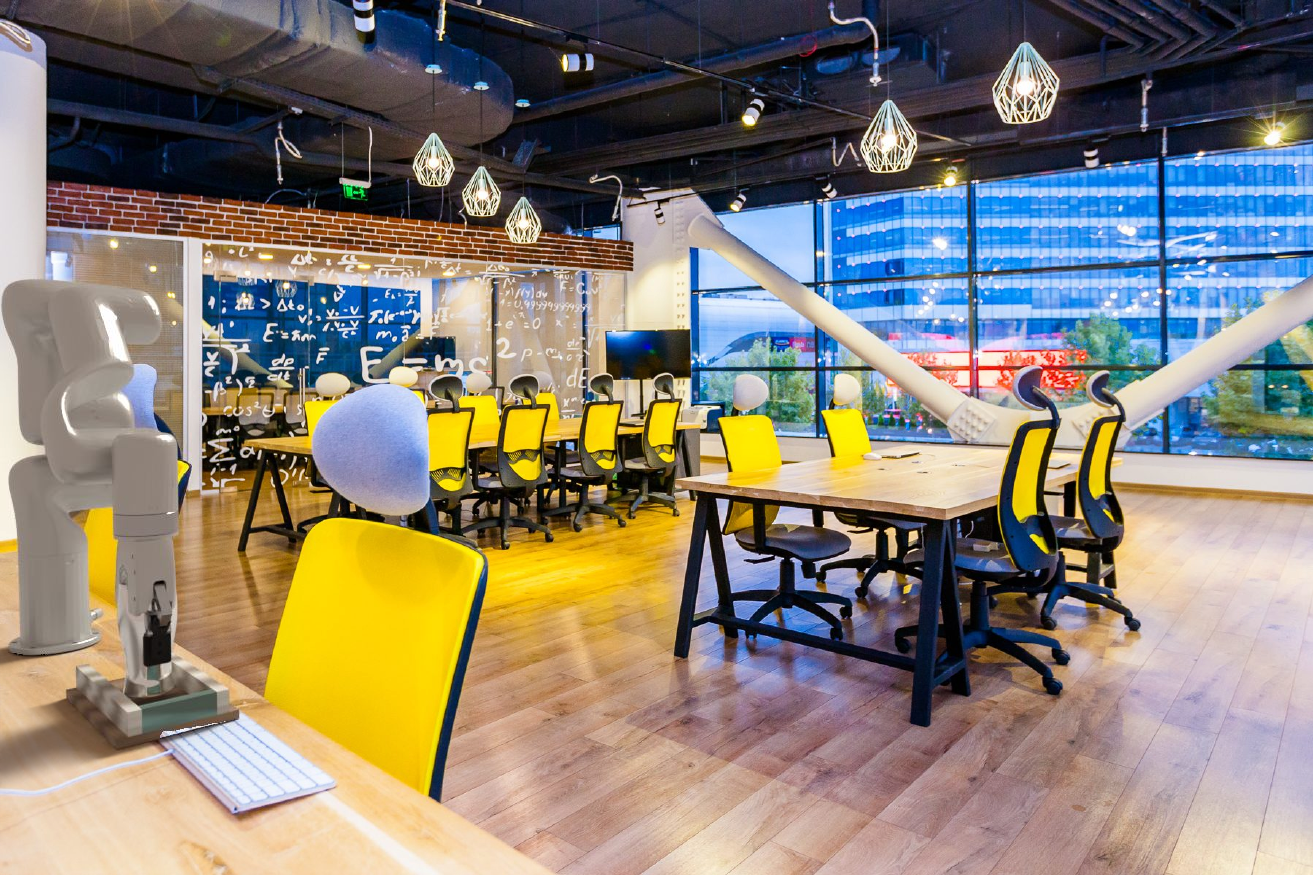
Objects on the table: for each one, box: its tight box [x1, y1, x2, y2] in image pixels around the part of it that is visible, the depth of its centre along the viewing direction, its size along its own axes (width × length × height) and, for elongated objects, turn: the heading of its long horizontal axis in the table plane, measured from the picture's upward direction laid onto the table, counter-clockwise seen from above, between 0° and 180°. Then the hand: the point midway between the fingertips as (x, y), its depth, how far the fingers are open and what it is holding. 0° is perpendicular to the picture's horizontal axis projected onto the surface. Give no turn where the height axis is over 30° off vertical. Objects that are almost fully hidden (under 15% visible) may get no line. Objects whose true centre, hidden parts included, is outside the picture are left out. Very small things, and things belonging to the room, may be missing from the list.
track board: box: [65, 651, 240, 751], centre depth 116 cm, size 24×14×4 cm, turn 46°
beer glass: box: [116, 582, 178, 698], centre depth 116 cm, size 7×7×15 cm
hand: (148, 656), depth 116 cm, fingers closed on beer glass, 6 cm apart
